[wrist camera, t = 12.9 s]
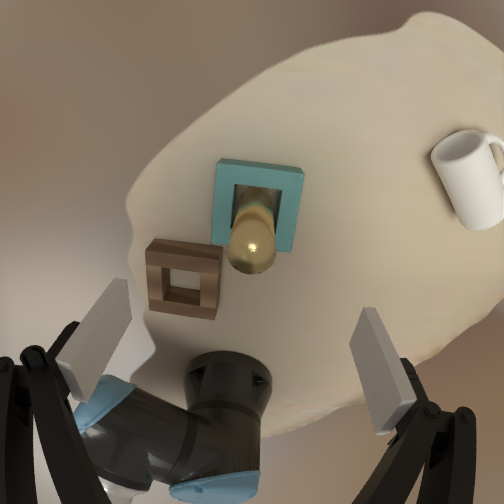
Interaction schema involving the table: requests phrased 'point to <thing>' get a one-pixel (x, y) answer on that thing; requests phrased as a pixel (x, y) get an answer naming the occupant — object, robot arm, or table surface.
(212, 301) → the mount block
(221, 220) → the socket block
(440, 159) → the mug
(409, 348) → the table surface
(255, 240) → the pin
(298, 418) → the table surface
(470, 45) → the table surface
